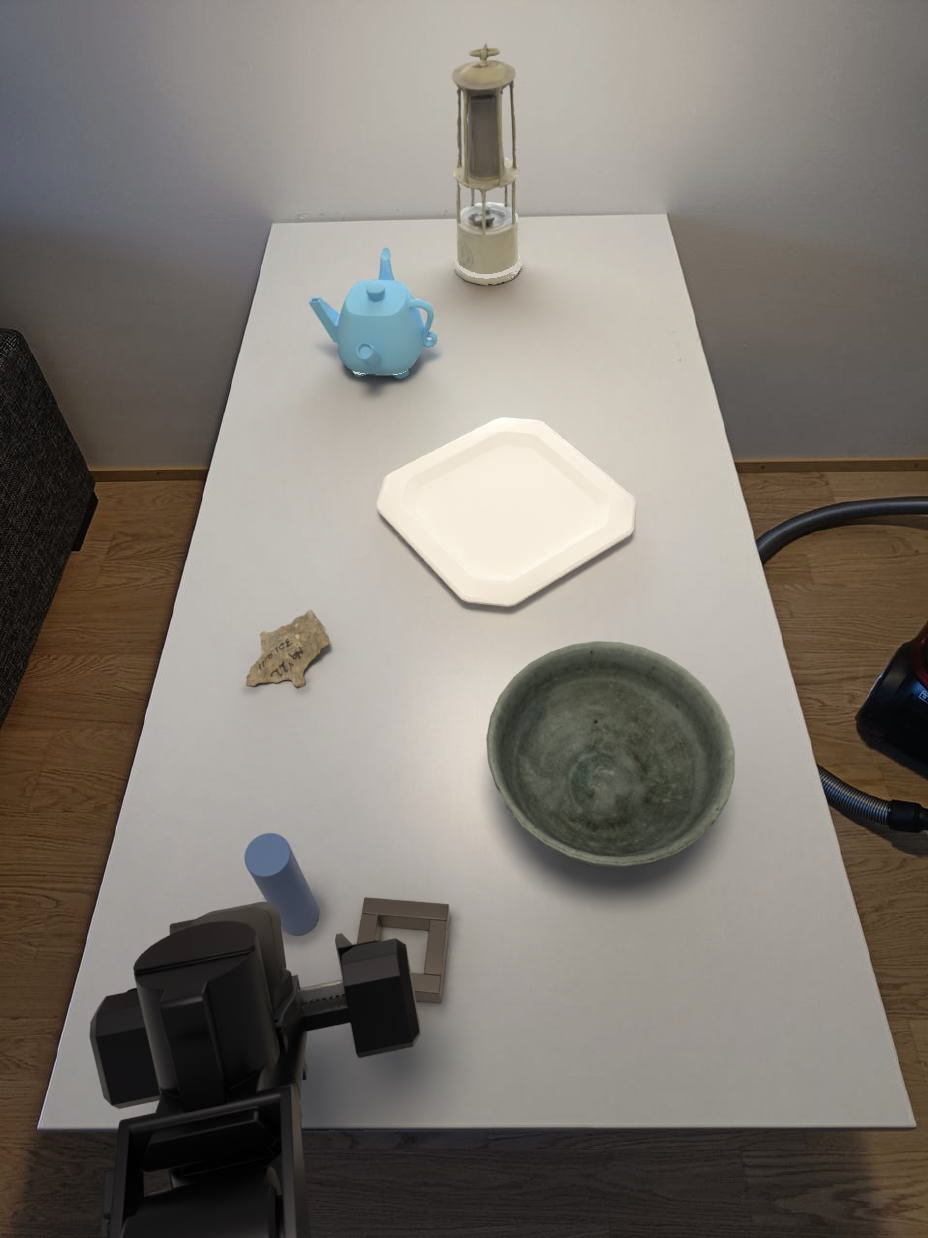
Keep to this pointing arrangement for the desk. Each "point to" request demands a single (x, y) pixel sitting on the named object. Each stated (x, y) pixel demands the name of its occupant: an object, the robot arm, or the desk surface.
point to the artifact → (289, 651)
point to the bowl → (611, 753)
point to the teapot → (378, 325)
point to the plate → (506, 510)
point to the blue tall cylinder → (282, 882)
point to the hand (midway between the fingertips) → (274, 952)
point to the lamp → (485, 170)
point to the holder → (412, 917)
